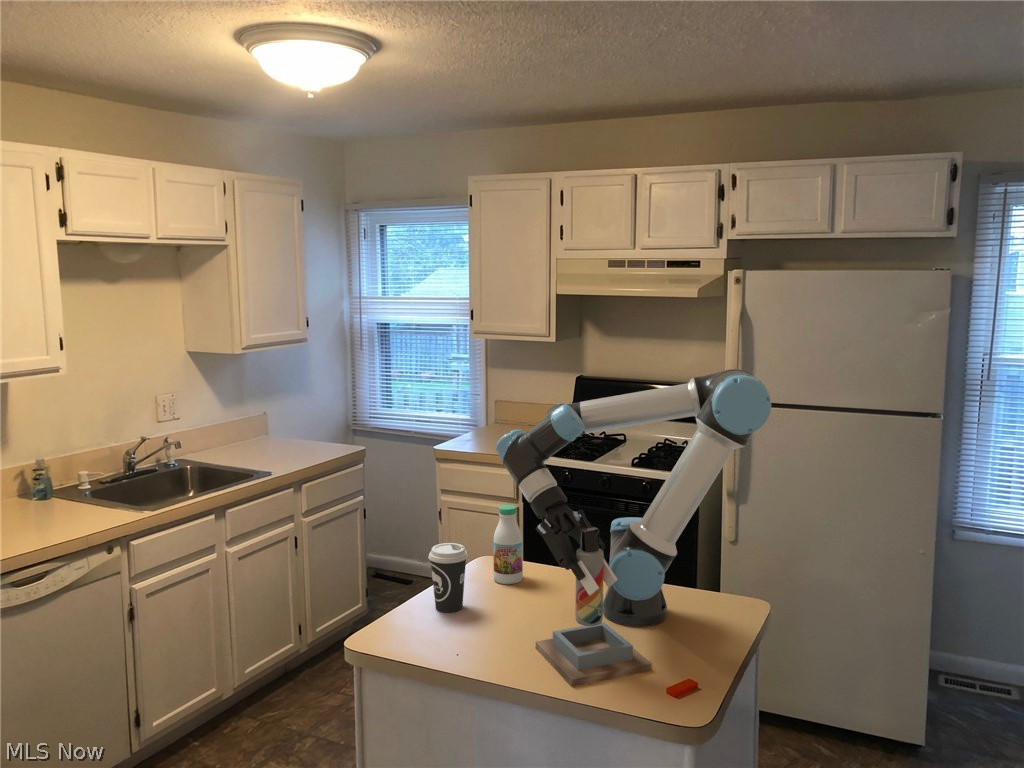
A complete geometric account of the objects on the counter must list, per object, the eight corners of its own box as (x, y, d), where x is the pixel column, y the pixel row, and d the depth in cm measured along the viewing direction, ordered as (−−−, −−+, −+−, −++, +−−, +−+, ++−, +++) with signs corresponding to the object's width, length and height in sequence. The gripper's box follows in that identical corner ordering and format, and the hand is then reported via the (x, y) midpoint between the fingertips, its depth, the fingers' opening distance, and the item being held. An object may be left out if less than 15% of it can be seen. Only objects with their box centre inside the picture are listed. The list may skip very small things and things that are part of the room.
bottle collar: (604, 635, 176) (604, 622, 175) (632, 659, 164) (632, 645, 164) (552, 644, 171) (552, 631, 171) (578, 670, 160) (578, 656, 159)
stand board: (609, 634, 180) (609, 628, 179) (651, 670, 163) (651, 663, 163) (535, 648, 173) (535, 641, 173) (571, 686, 156) (571, 679, 156)
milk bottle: (492, 575, 217) (492, 503, 214) (521, 574, 217) (520, 502, 215) (494, 585, 209) (493, 511, 207) (524, 584, 210) (523, 510, 207)
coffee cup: (463, 617, 189) (462, 556, 188) (424, 614, 191) (423, 553, 190) (473, 601, 199) (472, 543, 197) (436, 598, 201) (434, 540, 199)
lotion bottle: (595, 629, 163) (596, 533, 161) (570, 622, 166) (571, 529, 164) (607, 619, 168) (608, 526, 166) (582, 613, 171) (584, 522, 169)
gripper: (562, 496, 182) (619, 584, 172) (504, 513, 168) (564, 609, 159) (580, 477, 177) (640, 566, 168) (523, 492, 164) (585, 591, 155)
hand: (603, 587), depth 164 cm, fingers closed on lotion bottle, 5 cm apart
